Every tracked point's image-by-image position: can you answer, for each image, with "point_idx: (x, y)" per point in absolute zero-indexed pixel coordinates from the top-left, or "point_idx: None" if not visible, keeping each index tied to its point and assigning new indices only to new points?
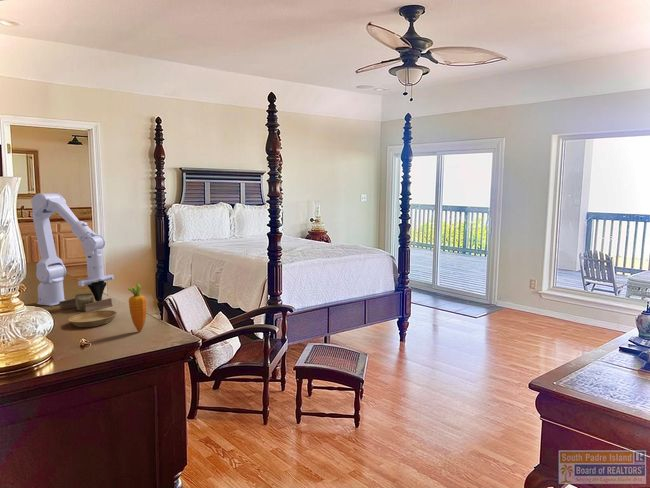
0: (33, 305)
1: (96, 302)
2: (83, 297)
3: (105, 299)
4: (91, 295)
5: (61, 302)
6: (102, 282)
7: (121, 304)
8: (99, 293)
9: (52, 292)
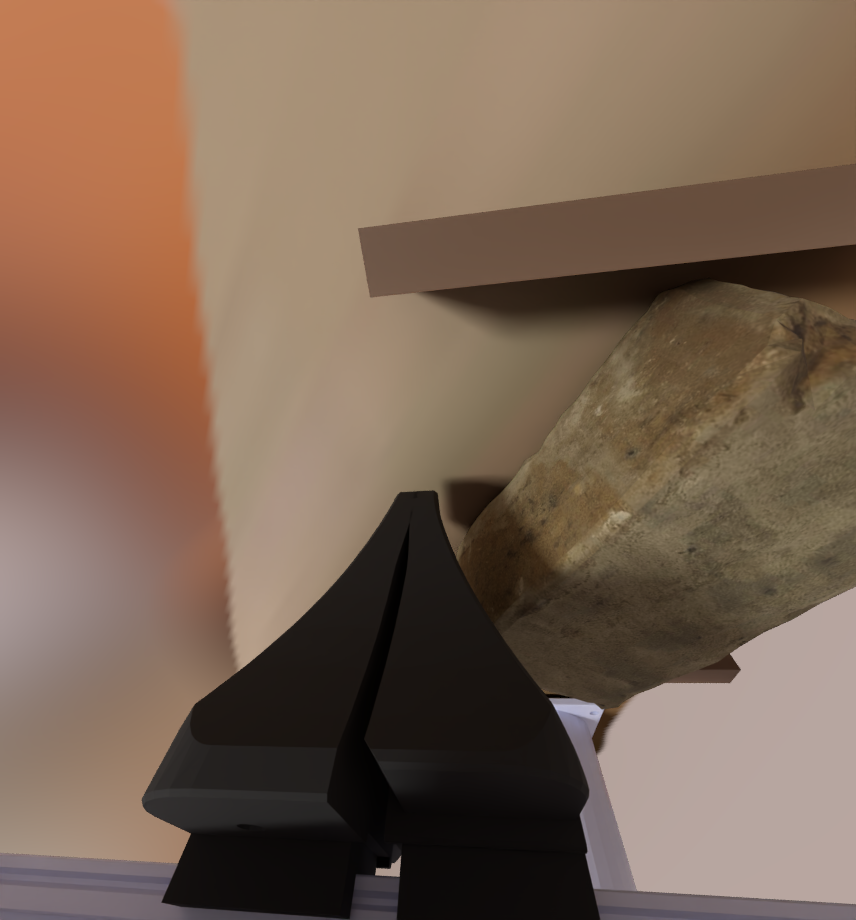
0: (600, 749)
1: (799, 175)
2: None
3: (495, 256)
4: (613, 541)
5: (728, 661)
6: (246, 833)
7: (236, 182)
8: (422, 560)
9: (600, 823)
